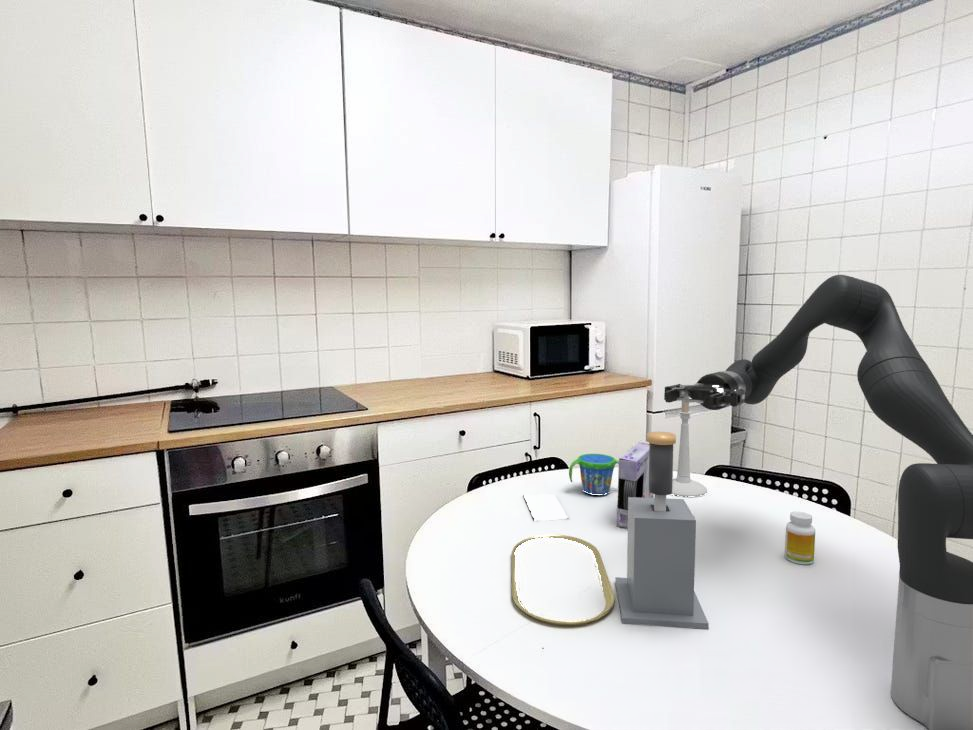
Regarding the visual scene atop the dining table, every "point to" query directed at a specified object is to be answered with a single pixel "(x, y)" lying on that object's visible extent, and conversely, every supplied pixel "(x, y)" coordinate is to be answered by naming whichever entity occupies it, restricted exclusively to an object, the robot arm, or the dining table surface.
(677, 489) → the candlestick
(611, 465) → the snack cup
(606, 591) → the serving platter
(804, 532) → the supplement bottle
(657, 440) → the plunger
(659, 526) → the column
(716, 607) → the dining table surface
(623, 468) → the cake pan box
